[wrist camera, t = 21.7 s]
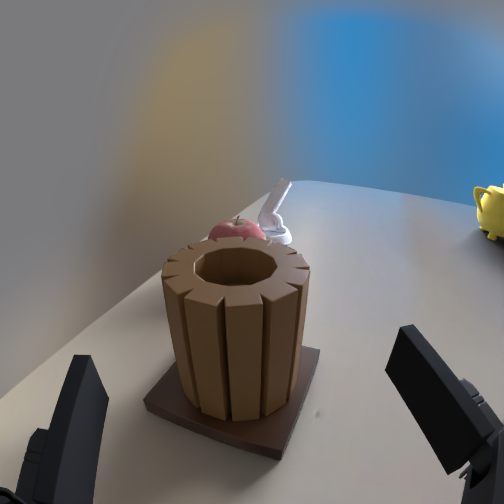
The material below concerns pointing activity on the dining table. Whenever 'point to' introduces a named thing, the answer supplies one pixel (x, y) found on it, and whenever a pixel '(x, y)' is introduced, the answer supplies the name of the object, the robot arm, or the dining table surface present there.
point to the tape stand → (233, 433)
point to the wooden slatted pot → (236, 323)
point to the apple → (236, 230)
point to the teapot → (491, 210)
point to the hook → (275, 214)
